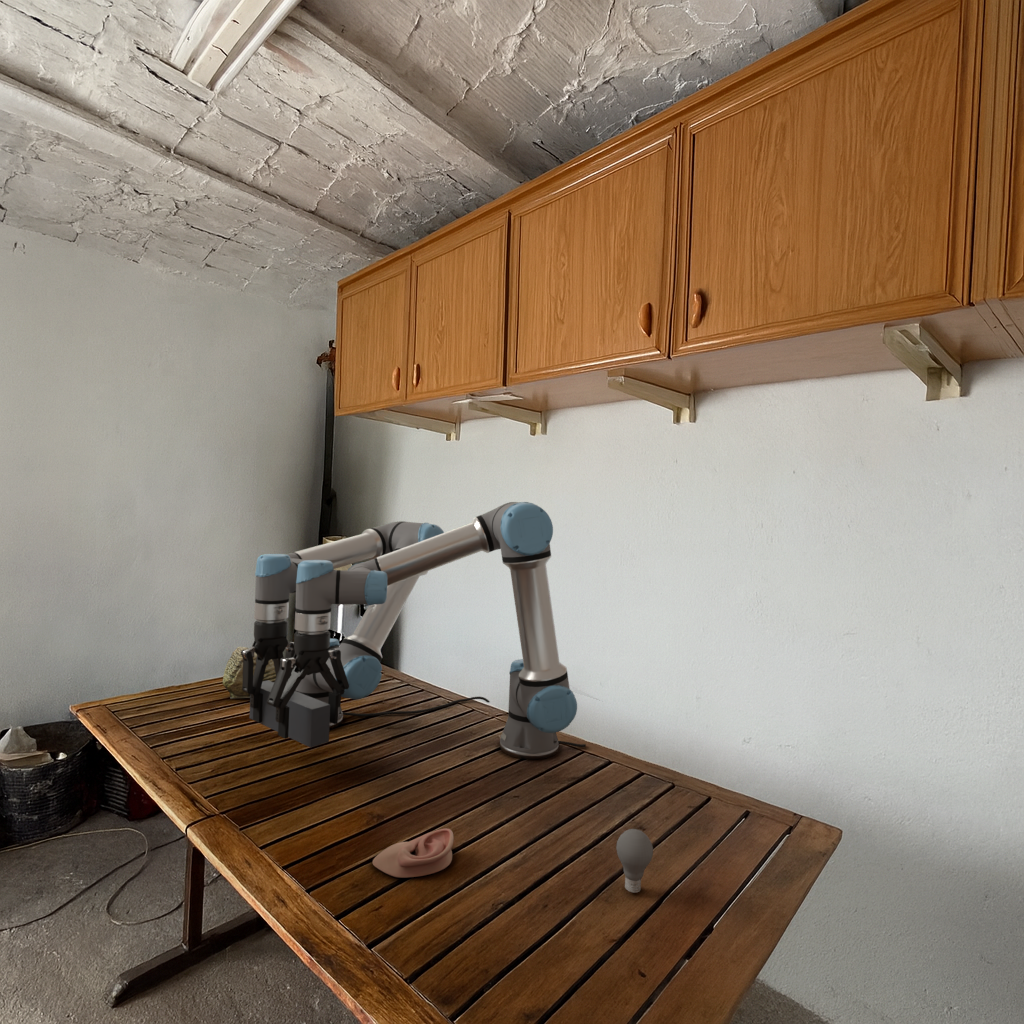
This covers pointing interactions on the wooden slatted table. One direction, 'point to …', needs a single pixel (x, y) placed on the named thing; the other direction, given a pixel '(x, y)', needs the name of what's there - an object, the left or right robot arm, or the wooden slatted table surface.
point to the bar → (298, 717)
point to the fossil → (235, 674)
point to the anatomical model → (417, 855)
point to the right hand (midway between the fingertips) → (308, 729)
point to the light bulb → (634, 857)
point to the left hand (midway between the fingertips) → (267, 717)
